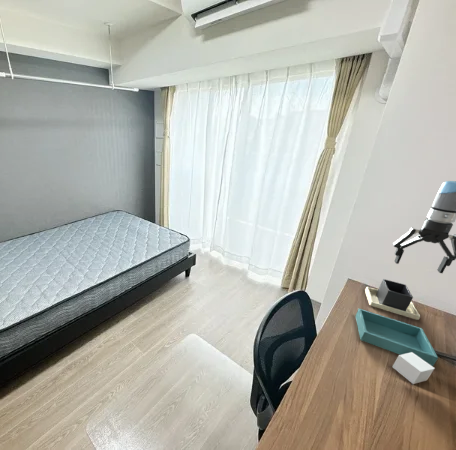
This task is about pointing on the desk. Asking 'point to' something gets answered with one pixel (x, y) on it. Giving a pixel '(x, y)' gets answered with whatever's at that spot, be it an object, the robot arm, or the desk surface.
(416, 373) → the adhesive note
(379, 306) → the tray
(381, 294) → the small bin
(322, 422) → the desk surface
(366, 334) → the tray
